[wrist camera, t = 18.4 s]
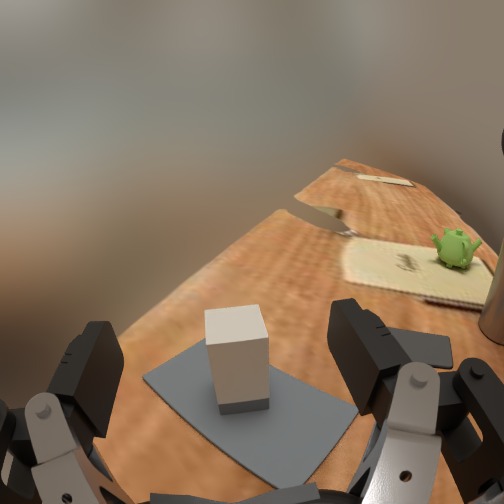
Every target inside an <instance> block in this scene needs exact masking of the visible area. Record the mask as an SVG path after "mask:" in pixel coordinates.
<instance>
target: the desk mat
mask: <svg viewBox="0 0 504 504" xmlns="http://www.w3.org/2000/svg"><path fill="white" fill-rule="evenodd" d="M142 378H143V380H144V381H145V382H146V383H147V384H148V385H149V386H150V387H151V388H152V389H153V390H154V391H155V392H156V393H157V394H158V395H159V396H160V397H161V398H162V399H163V400H164V401H165V402H166V403H167V404H168V405H169V406H170V407H171V408H172V409H173V410H174V411H176V412H177V413H178V414H179V415H180V416H181V417H182V418H183V419H184V420H185V421H187V422H188V423H189V424H190V425H191V426H192V427H193V428H194V429H196V430H197V431H198V432H199V433H200V434H202V435H203V436H204V437H205V438H206V439H208V440H209V441H210V442H211V443H212V444H214V445H215V446H216V447H218V448H219V449H220V450H221V451H223V452H224V453H225V454H227V455H228V456H229V457H231V458H232V459H233V460H235V461H236V462H237V463H239V464H240V465H241V466H243V467H244V468H246V469H247V470H249V471H250V472H251V473H253V474H254V475H256V476H257V477H259V478H260V479H262V480H263V481H265V482H267V483H268V484H270V485H271V486H273V487H275V488H276V489H283V488H288V487H294V486H299V485H303V484H304V483H305V482H306V481H307V480H308V479H309V478H310V476H311V475H312V474H313V473H314V472H315V470H316V469H317V468H318V467H319V466H320V464H321V463H322V462H323V461H324V459H325V458H326V457H327V456H328V454H329V453H330V452H331V451H332V449H333V448H334V447H335V445H336V444H337V443H338V441H339V440H340V438H341V437H342V436H343V434H344V433H345V431H346V430H347V429H348V427H349V426H350V424H351V423H352V421H353V420H354V418H355V417H356V415H357V414H358V412H359V411H358V408H357V406H355V405H352V404H350V403H348V402H345V401H343V400H341V399H339V398H336V397H334V396H332V395H330V394H328V393H326V392H323V391H321V390H319V389H317V388H315V387H313V386H311V385H309V384H307V383H305V382H303V381H301V380H299V379H297V378H295V377H293V376H291V375H289V374H287V373H285V372H283V371H281V370H279V369H277V368H275V367H273V366H271V365H270V364H269V409H266V410H260V411H253V412H246V413H238V414H230V415H220V411H219V406H218V402H217V397H216V393H215V388H214V383H213V378H212V373H211V368H210V363H209V358H208V353H207V348H206V338H205V339H203V340H201V341H200V342H198V343H196V344H195V345H193V346H192V347H190V348H188V349H187V350H185V351H183V352H182V353H180V354H179V355H177V356H175V357H174V358H172V359H170V360H169V361H167V362H165V363H164V364H162V365H160V366H158V367H157V368H155V369H153V370H152V371H150V372H148V373H147V374H145V375H143V376H142Z"/></svg>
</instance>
